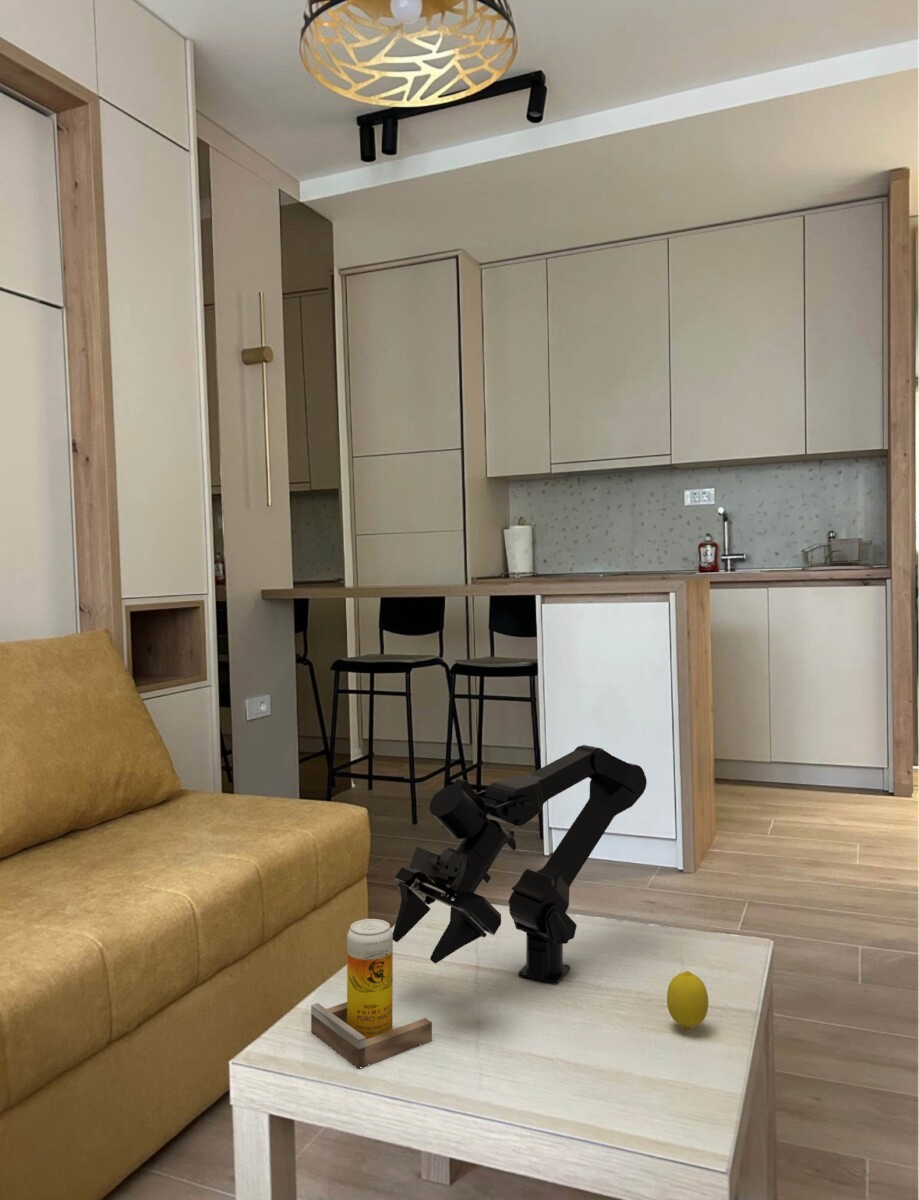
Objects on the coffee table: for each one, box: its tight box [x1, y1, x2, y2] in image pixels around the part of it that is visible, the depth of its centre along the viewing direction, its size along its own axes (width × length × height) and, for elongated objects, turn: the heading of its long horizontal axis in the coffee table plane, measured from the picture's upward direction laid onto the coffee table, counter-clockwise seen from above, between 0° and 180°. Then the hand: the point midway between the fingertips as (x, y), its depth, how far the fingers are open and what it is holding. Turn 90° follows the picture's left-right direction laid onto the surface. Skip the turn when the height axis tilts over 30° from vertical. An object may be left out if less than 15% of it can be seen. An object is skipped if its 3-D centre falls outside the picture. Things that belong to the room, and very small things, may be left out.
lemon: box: [666, 970, 709, 1031], centre depth 124 cm, size 6×6×8 cm
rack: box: [310, 1001, 433, 1069], centre depth 122 cm, size 12×12×4 cm
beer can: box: [346, 918, 394, 1040], centre depth 122 cm, size 6×6×15 cm
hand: (412, 950), depth 126 cm, fingers open, 9 cm apart
